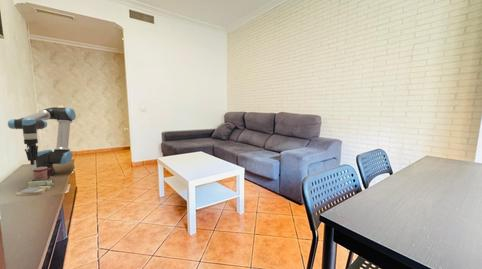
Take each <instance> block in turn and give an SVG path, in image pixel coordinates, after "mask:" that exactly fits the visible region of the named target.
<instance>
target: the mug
mask: <svg viewBox="0 0 482 269" xmlns="http://www.w3.org/2000/svg"><path fill="white" fill-rule="evenodd" d="M49 169H50V170H51V173H50V175H49V176H47V172H48V170H49ZM32 172H33V176H34V179H39V180H40V181H45V180H49V179H50V178H51V175H52V172H53V170H52V169H51V168H48V169H47V167H38V168H35V169H32ZM52 176H53V175H52Z"/></svg>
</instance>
